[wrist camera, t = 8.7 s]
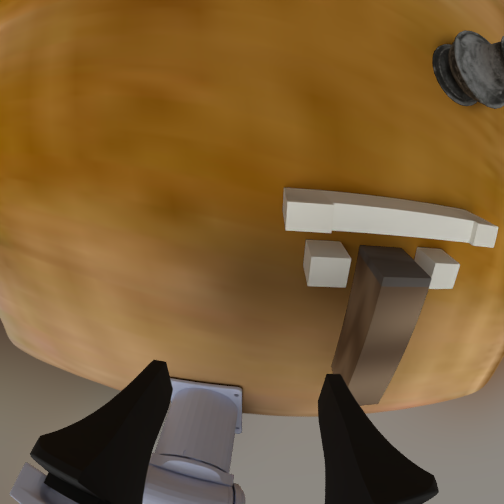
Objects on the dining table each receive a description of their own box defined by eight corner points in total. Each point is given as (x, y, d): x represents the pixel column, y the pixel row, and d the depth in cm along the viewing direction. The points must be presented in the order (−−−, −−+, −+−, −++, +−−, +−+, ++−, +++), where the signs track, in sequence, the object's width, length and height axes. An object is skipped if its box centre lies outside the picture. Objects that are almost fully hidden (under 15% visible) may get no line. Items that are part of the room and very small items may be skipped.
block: (365, 364, 23) (378, 403, 18) (331, 365, 23) (339, 407, 19) (401, 247, 19) (431, 278, 14) (359, 245, 19) (383, 277, 14)
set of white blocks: (449, 271, 19) (476, 298, 15) (278, 264, 20) (280, 297, 16) (464, 209, 17) (498, 227, 13) (283, 187, 18) (287, 201, 13)
